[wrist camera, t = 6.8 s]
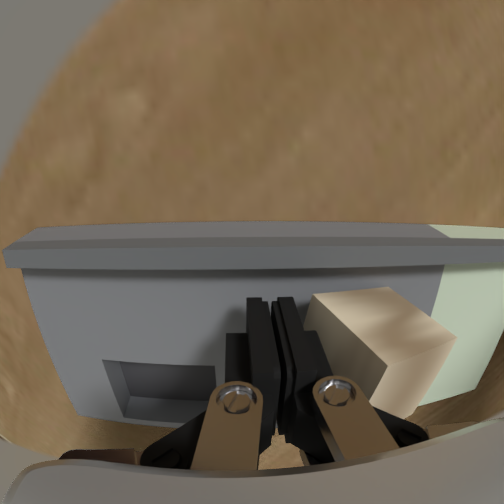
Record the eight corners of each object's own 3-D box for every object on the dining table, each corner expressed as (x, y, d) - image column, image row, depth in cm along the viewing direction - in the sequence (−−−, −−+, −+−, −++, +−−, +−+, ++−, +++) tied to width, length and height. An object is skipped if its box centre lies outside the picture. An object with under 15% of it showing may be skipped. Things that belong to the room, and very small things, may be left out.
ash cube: (388, 286, 12) (457, 337, 9) (358, 360, 14) (411, 414, 10) (312, 294, 11) (388, 365, 7) (287, 377, 12) (339, 449, 9)
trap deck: (510, 228, 14) (543, 246, 11) (461, 372, 18) (481, 398, 15) (37, 227, 13) (2, 250, 10) (87, 393, 17) (72, 426, 14)
